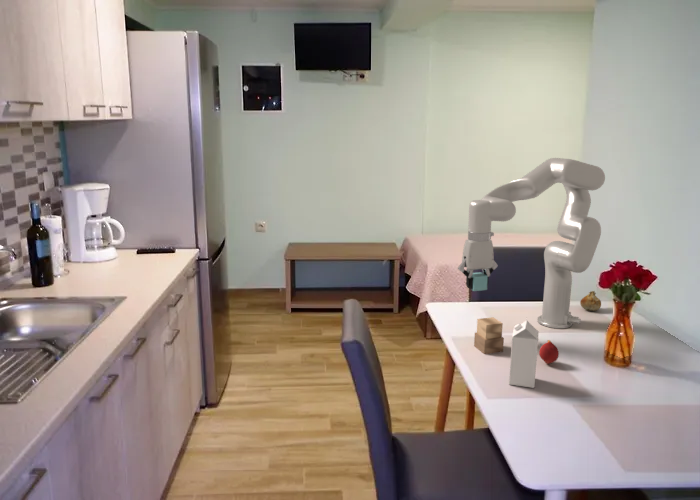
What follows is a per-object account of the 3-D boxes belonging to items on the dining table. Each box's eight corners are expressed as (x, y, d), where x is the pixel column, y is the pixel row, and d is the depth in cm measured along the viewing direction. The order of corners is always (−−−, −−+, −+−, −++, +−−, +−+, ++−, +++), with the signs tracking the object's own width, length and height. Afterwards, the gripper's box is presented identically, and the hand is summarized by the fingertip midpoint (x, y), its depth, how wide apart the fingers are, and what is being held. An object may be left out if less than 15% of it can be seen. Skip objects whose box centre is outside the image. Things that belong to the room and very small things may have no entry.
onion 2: (575, 307, 232) (577, 289, 230) (594, 307, 232) (596, 288, 231) (585, 313, 224) (587, 294, 222) (604, 313, 225) (606, 294, 223)
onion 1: (558, 362, 180) (560, 338, 178) (556, 369, 175) (558, 345, 173) (539, 358, 182) (541, 335, 180) (537, 365, 177) (539, 342, 175)
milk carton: (534, 378, 168) (539, 318, 164) (534, 388, 162) (539, 326, 157) (510, 374, 171) (514, 315, 166) (508, 385, 164) (512, 323, 160)
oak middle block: (492, 331, 193) (493, 317, 192) (501, 337, 187) (502, 323, 186) (476, 332, 191) (477, 318, 190) (485, 339, 186) (486, 325, 184)
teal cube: (480, 285, 199) (480, 272, 198) (486, 289, 194) (487, 276, 193) (467, 287, 198) (467, 273, 197) (473, 291, 193) (474, 277, 192)
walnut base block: (492, 344, 194) (493, 330, 193) (502, 352, 188) (503, 338, 187) (474, 346, 192) (474, 332, 191) (484, 354, 186) (484, 340, 185)
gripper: (496, 232, 197) (493, 282, 202) (451, 235, 193) (449, 286, 197) (507, 237, 190) (504, 288, 194) (461, 240, 186) (459, 292, 190)
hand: (477, 286), depth 196 cm, fingers closed on teal cube, 4 cm apart
